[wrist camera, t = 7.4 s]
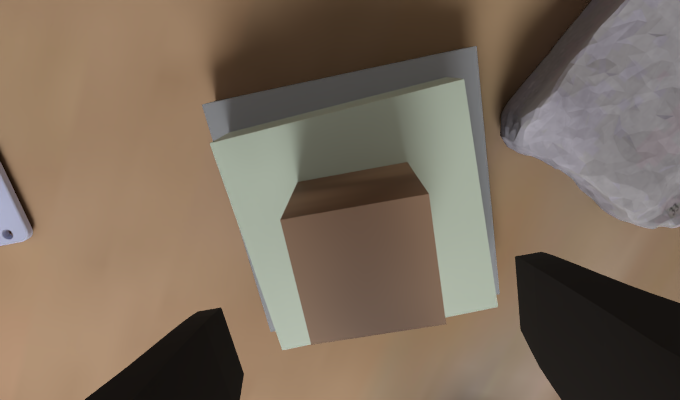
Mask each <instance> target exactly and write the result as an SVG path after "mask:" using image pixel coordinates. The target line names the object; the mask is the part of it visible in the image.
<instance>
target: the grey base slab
mask: <svg viewBox="0 0 680 400" xmlns="http://www.w3.org/2000/svg"><path fill="white" fill-rule="evenodd" d="M445 77H451V78H460V79H464V81H465V88H466V95H467V102H468V108H469V115H470V122H471V129H472V135H473V142H474V149H475V156H476V162H477V169H478V176H479V182H480V189H481V196H482V203H483V209H484V216H485V223H486V230H487V236H488V243H489V250H490V257H491V263H492V270H493V277H494V284H495V290H496V294H500V293H499V283H498V272H497V261H496V250H495V240H494V229H493V218H492V207H491V197H490V186H489V175H488V164H487V154H486V143H485V132H484V122H483V111H482V100H481V89H480V79H479V68H478V57H477V46H474V47H468V48H462V49H457V50H452V51H448V52H443V53H438V54H434V55H429V56H424V57H419V58H415V59H410V60H405V61H401V62H396V63H391V64H387V65H382V66H377V67H373V68H368V69H363V70H359V71H354V72H349V73H344V74H340V75H335V76H330V77H326V78H321V79H316V80H312V81H307V82H302V83H298V84H293V85H288V86H284V87H279V88H274V89H270V90H265V91H260V92H255V93H251V94H246V95H241V96H237V97H232V98H227V99H223V100H218V101H214V102H210V103H206V104H203V105H202V106H203V110H204V113H205V116H206V120H207V123H208V126H209V130H210V133H211V136H212V139H213V141H215V140H217V139H218V138H220V137H222V136H224V135H225V134H227V133H229V132H233V131H237V130H240V129H244V128H248V127H252V126H256V125H260V124H264V123H268V122H272V121H276V120H280V119H284V118H288V117H292V116H295V115H299V114H303V113H307V112H311V111H315V110H319V109H323V108H327V107H331V106H335V105H339V104H343V103H347V102H351V101H354V100H358V99H362V98H366V97H370V96H374V95H378V94H382V93H386V92H390V91H394V90H398V89H402V88H406V87H410V86H413V85H417V84H421V83H425V82H429V81H433V80H437V79H441V78H445ZM239 229H240V228H239ZM240 232H241V231H240ZM241 235H242V234H241ZM242 238H243V237H242ZM243 242H244V239H243ZM244 245H245V242H244ZM245 248H246V245H245ZM246 252H247V255H248V258H249V262H250V265H251V268H252V271H253V275H254V278H255V281H256V285H257V288H258V291H259V295H260V298H261V301H262V304H263V308H264V311H265V314H266V318H267V321H268V324H269V328H270V331H271V332H272V331H275V328H274V325H273V322H272V319H271V316H270V313H269V311H268V308H267V305H266V302H265V299H264V296H263V294H262V291H261V288H260V285H259V282H258V279H257V276H256V274H255V271H254V268H253V265H252V262H251V259H250V257H249V254H248V251H247V248H246Z"/></svg>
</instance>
